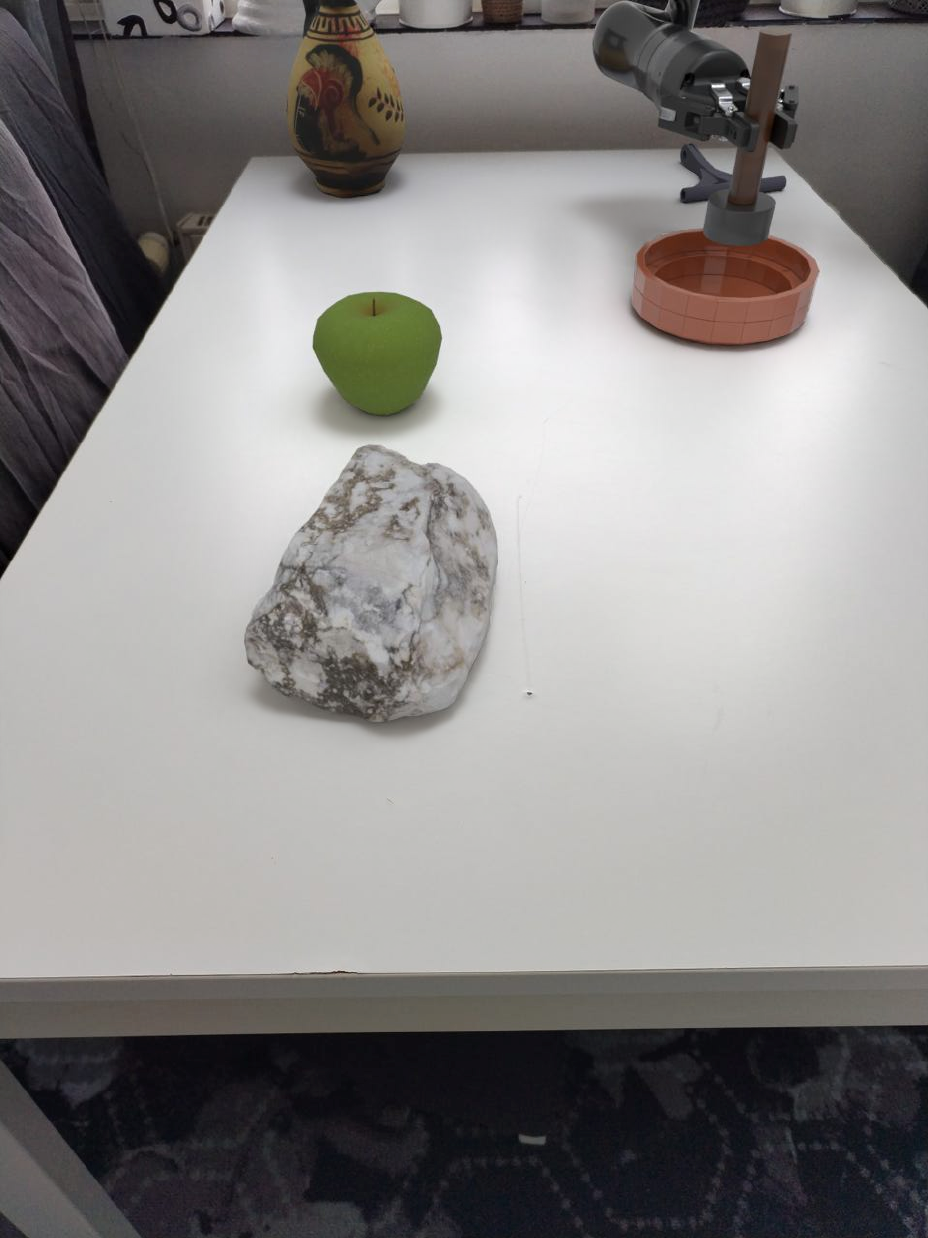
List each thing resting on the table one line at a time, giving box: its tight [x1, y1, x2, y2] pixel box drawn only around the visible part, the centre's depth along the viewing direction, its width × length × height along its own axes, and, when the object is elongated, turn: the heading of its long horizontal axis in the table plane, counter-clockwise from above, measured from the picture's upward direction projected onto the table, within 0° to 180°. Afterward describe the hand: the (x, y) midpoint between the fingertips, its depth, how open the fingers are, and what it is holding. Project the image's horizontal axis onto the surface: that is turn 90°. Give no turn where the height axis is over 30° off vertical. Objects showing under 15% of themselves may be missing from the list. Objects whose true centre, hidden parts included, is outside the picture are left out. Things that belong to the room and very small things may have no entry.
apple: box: [312, 291, 443, 417], centre depth 74 cm, size 11×10×10 cm
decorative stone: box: [243, 443, 499, 723], centre depth 55 cm, size 20×14×10 cm
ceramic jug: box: [285, 0, 406, 199], centre depth 107 cm, size 17×15×30 cm
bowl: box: [631, 227, 820, 346], centre depth 87 cm, size 18×18×5 cm
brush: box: [702, 27, 794, 246], centre depth 75 cm, size 6×6×16 cm
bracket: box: [679, 142, 787, 203], centre depth 116 cm, size 14×15×3 cm
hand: (771, 137), depth 72 cm, fingers closed on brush, 2 cm apart
